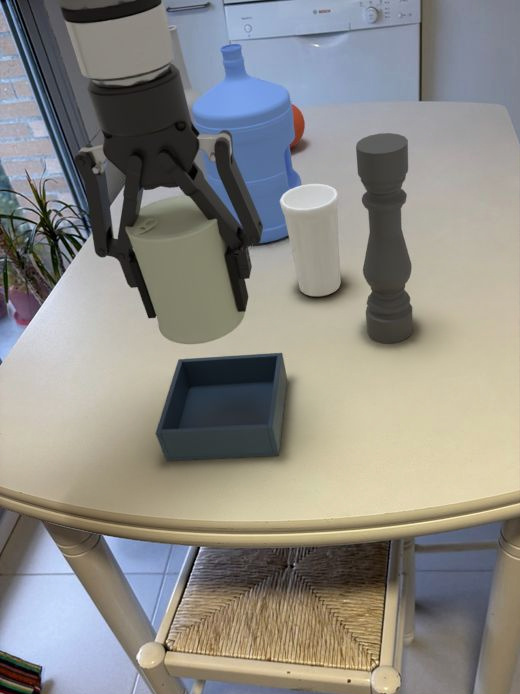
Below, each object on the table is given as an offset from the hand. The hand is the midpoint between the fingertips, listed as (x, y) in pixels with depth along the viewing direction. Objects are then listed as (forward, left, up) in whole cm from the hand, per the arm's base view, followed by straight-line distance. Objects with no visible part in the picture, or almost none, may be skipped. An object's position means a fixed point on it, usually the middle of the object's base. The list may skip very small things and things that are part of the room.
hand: (198, 307), depth 68 cm
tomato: (0, +84, -16) cm, 86 cm away
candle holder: (+20, +16, -16) cm, 30 cm away
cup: (+10, +28, -16) cm, 34 cm away
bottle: (-14, +67, -16) cm, 70 cm away
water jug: (-1, +50, -16) cm, 53 cm away
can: (0, 0, -2) cm, 2 cm away
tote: (0, 0, -16) cm, 16 cm away
